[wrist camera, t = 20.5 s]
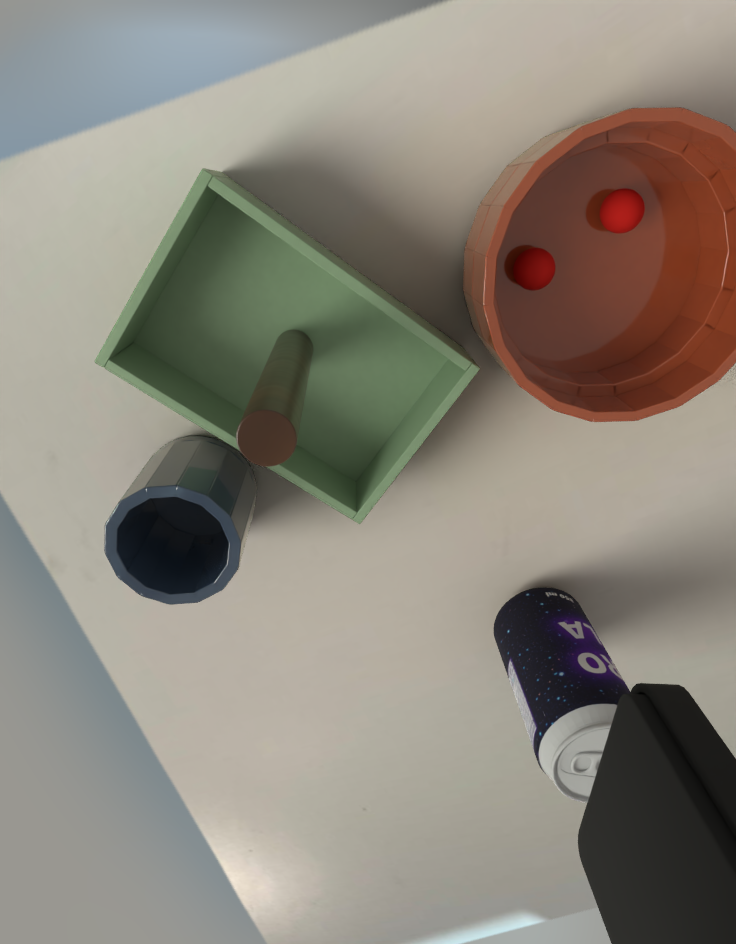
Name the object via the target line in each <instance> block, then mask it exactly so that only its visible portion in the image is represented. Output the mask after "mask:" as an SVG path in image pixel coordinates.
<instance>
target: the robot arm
mask: <svg viewBox="0 0 736 944" xmlns="http://www.w3.org/2000/svg"><path fill="white" fill-rule="evenodd" d="M578 847H579V854H580V858H581V862H582V865H583V867H584V870H585V873H586V875H587V878H588V881H589V884H590V886H591V889H592V892H593V894H594V897H595V900H596V903H597V905H598V908H599V911H600V913H601V916H602V919H603V921H604V924H605V927H606V930H607V932H608V935H609V938H610V940H611V943H612V944H736V759H735V757H734V756H733V754H732V753H731V752H730V750H729V749H728V747H727V746H726V744H725V743H724V742H723V740H722V739H721V737H720V736H719V735H718V733H717V732H716V730H715V729H714V727H713V726H712V725H711V723H710V722H709V720H708V719H707V718H706V716H705V715H704V713H703V712H702V711H701V709H700V708H699V706H698V705H697V703H696V702H695V701H694V699H693V698H692V696H691V695H690V694H689V692H688V691H687V690H686V689H685V688H684V687H682V686H680V685H669V684H646V683H640V684H636V685H635V686H634V687H633V688H632V690H631V692H630V694H623V695H622V696H621V697H620V699H619V701H618V704H617V708H616V711H615V714H614V718H613V721H612V724H611V727H610V731H609V734H608V737H607V741H606V744H605V747H604V750H603V754H602V757H601V760H600V763H599V767H598V770H597V773H596V777H595V780H594V783H593V786H592V790H591V793H590V796H589V799H588V803H587V806H586V809H585V813H584V816H583V819H582V822H581V826H580V829H579V834H578Z"/></svg>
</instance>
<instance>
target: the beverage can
mask: <svg viewBox="0 0 736 944" xmlns="http://www.w3.org/2000/svg"><path fill="white" fill-rule="evenodd" d="M494 637H495V640H496V643H497V646H498V649H499V652H500V654H501V657H502V660H503V663H504V666H505V669H506V672H507V675H508V677H509V680H510V683H511V686H512V689H513V692H514V695H515V698H516V700H517V703H518V706H519V709H520V712H521V715H522V718H523V721H524V723H525V726H526V729H527V732H528V735H529V738H530V741H531V744H532V746H533V749H534V752H535V755H536V758H537V761H538V764H539V766H540V767H541V769H542V770H543V772H544V773H545V774H546V775H547V776H548V777H549V778H551V779H552V780H553V782H554V784H555V785H556V787H557V788H558V789H559V791H560V792H562V793H563V794H564V795H565V796H567V797H569V798H571V799H573V800H576V801H579V802H583V803H588V799H589V796H590V793H591V790H592V786H593V783H594V780H595V777H596V773H597V770H598V767H599V763H600V760H601V757H602V754H603V750H604V747H605V744H606V741H607V737H608V734H609V731H610V727H611V724H612V721H613V718H614V714H615V711H616V708H617V704H618V701H619V699H620V697H621V696H622V695H623V694H630V691H629V689H628V687H627V686H626V684H625V682H624V680H623V679H622V677H621V675H620V674H619V672H618V670H617V668H616V667H615V665H614V663H613V662H612V660H611V658H610V656H609V655H608V653H607V651H606V650H605V648H604V646H603V644H602V643H601V641H600V639H599V638H598V636H597V634H596V632H595V631H594V629H593V627H592V626H591V624H590V622H589V620H588V619H587V617H586V615H585V614H584V612H583V610H582V608H581V607H580V605H579V603H578V602H577V601H576V600H575V599H574V598H573V597H572V596H571V595H569V594H568V593H566V592H564V591H561V590H558V589H554V588H534V589H530V590H527V591H524V592H521V593H519V594H518V595H516V596H514V597H513V598H511V599H510V600H509V601H508V602H507V603H506V604H505V605H504V606H503V607H502V608H501V610H500V611H499V613H498V615H497V617H496V620H495V623H494Z"/></svg>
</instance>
